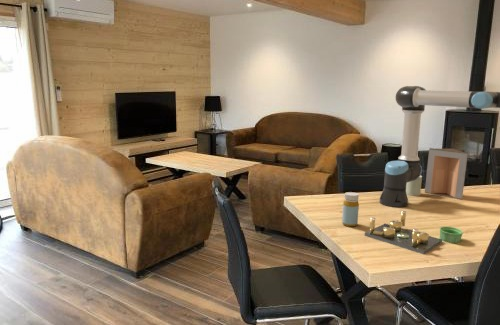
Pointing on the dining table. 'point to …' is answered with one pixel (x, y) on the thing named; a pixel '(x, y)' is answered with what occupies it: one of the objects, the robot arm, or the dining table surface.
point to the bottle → (350, 209)
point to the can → (414, 187)
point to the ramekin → (450, 234)
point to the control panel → (405, 240)
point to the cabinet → (446, 172)
